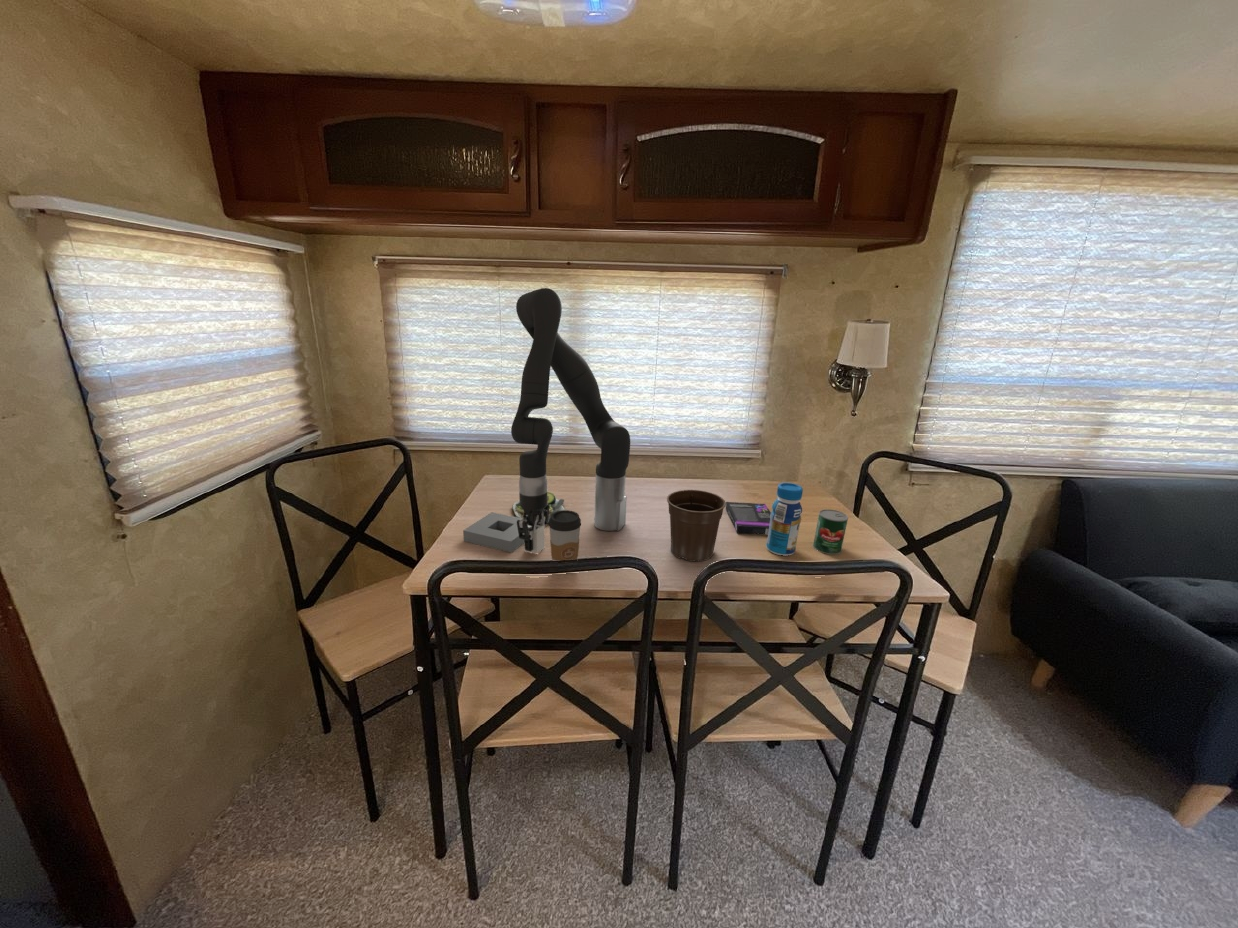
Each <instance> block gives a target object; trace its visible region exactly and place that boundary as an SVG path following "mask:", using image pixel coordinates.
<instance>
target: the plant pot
mask: <svg viewBox="0 0 1238 928" xmlns="http://www.w3.org/2000/svg"><path fill="white" fill-rule="evenodd" d="M666 502H667V503H668V513H669V518H670V519H669V523H670V526H669V527H670V552H671V553H672V554H673V555H674V556H675V557H677V558H679V559H685V560H686V561H687V562H688V561H689V562H703V561H707V560H709V559H710V558H711V557H712V556H713V555H714V551H715V547H716V546H715V545H716V542H717V537H718V532H719V531H718V530H719V527H720V522H721V519H722V517H723V512H724V510H725V509H726V502H727V501H726V500H725V499H724V498H723V497H721V496H720V495H718V494H715V493H712V492H709V491H706V490H699V489H682V490H681V489H680V490H677V491H674V492H673V491H672V492H670V493H669V494H668V496H666Z"/></svg>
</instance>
